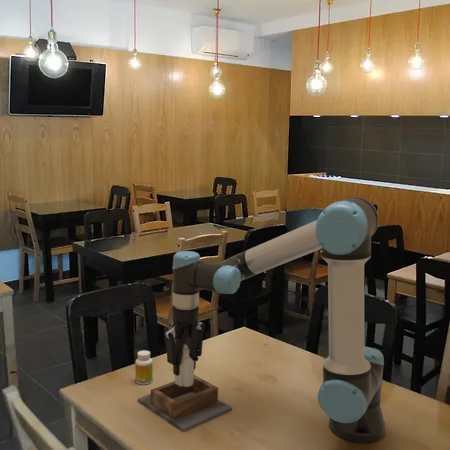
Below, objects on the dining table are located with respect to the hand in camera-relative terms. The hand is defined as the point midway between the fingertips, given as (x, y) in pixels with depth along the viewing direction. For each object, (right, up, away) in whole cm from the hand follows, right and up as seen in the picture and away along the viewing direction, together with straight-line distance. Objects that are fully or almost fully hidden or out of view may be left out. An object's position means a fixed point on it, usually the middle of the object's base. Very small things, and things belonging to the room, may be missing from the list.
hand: (184, 382), depth 162 cm
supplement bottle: (-14, -4, +17) cm, 22 cm away
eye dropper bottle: (0, 0, 0) cm, 0 cm away
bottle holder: (0, -7, +1) cm, 7 cm away
